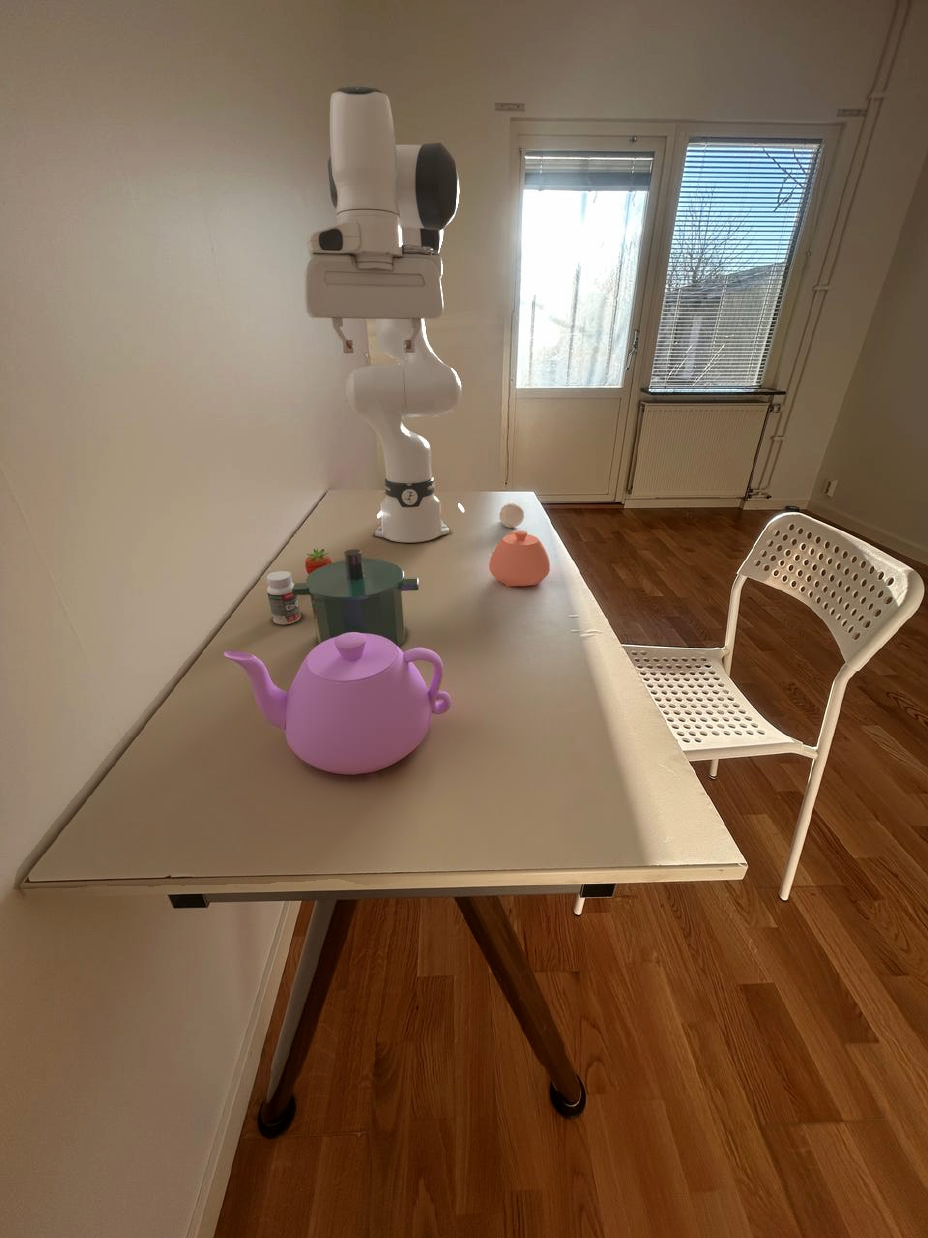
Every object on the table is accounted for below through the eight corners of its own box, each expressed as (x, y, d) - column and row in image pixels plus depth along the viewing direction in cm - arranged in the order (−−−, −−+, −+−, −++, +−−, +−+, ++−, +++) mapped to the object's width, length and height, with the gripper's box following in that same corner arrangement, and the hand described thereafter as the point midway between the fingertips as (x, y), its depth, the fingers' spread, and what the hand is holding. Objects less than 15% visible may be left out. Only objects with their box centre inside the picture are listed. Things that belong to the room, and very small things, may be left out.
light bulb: (514, 528, 143) (524, 530, 133) (491, 525, 142) (500, 526, 131) (518, 504, 142) (529, 504, 131) (495, 501, 141) (504, 500, 130)
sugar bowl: (496, 594, 100) (497, 544, 95) (482, 566, 112) (483, 521, 107) (556, 589, 101) (561, 540, 97) (536, 563, 114) (539, 518, 109)
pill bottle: (292, 626, 89) (284, 582, 85) (267, 623, 90) (258, 579, 86) (305, 613, 93) (298, 571, 89) (281, 611, 94) (273, 569, 90)
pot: (310, 620, 91) (301, 565, 86) (420, 615, 92) (417, 560, 87) (294, 663, 78) (282, 602, 73) (421, 657, 80) (418, 596, 75)
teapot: (440, 681, 74) (437, 595, 68) (465, 769, 59) (464, 669, 52) (259, 703, 70) (237, 614, 63) (234, 804, 54) (202, 700, 48)
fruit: (303, 587, 103) (297, 550, 99) (320, 578, 107) (314, 541, 103) (324, 592, 101) (319, 554, 97) (341, 582, 105) (336, 545, 101)
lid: (315, 566, 87) (311, 537, 84) (404, 563, 88) (403, 534, 85) (298, 606, 73) (291, 573, 71) (403, 602, 75) (400, 569, 72)
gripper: (435, 250, 78) (438, 352, 84) (296, 243, 72) (310, 353, 79) (447, 242, 73) (449, 352, 79) (297, 234, 67) (312, 353, 73)
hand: (379, 353), depth 79 cm, fingers open, 8 cm apart
